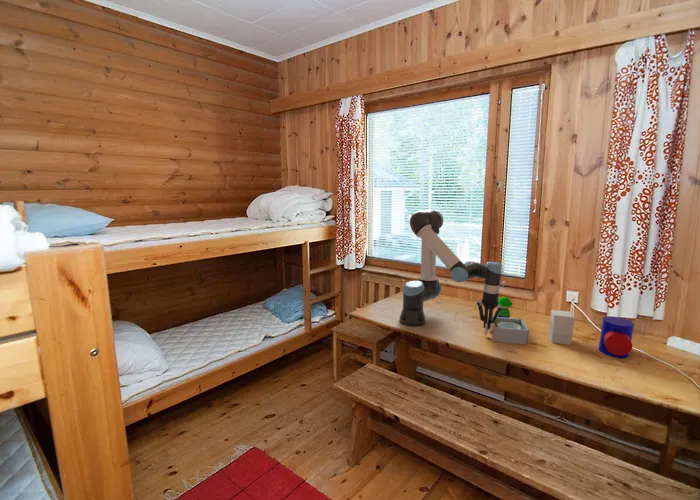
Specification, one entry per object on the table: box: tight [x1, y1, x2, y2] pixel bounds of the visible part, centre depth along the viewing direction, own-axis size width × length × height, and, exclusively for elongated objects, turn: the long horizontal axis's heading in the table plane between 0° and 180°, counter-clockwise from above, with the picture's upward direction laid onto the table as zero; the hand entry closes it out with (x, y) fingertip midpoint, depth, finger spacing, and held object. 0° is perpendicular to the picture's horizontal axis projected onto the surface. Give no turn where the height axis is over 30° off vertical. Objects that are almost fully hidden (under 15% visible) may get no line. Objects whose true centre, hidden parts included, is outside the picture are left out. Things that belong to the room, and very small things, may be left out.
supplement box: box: [548, 309, 575, 346], centre depth 184 cm, size 9×9×15 cm
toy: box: [497, 296, 514, 318], centre depth 209 cm, size 9×9×15 cm
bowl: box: [497, 322, 521, 329], centre depth 189 cm, size 11×12×6 cm
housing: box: [492, 316, 530, 345], centre depth 189 cm, size 16×16×8 cm
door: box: [488, 323, 495, 342], centre depth 192 cm, size 2×16×7 cm, turn 167°
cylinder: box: [598, 315, 635, 359], centre depth 171 cm, size 20×12×16 cm, turn 149°
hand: (486, 334), depth 189 cm, fingers closed
